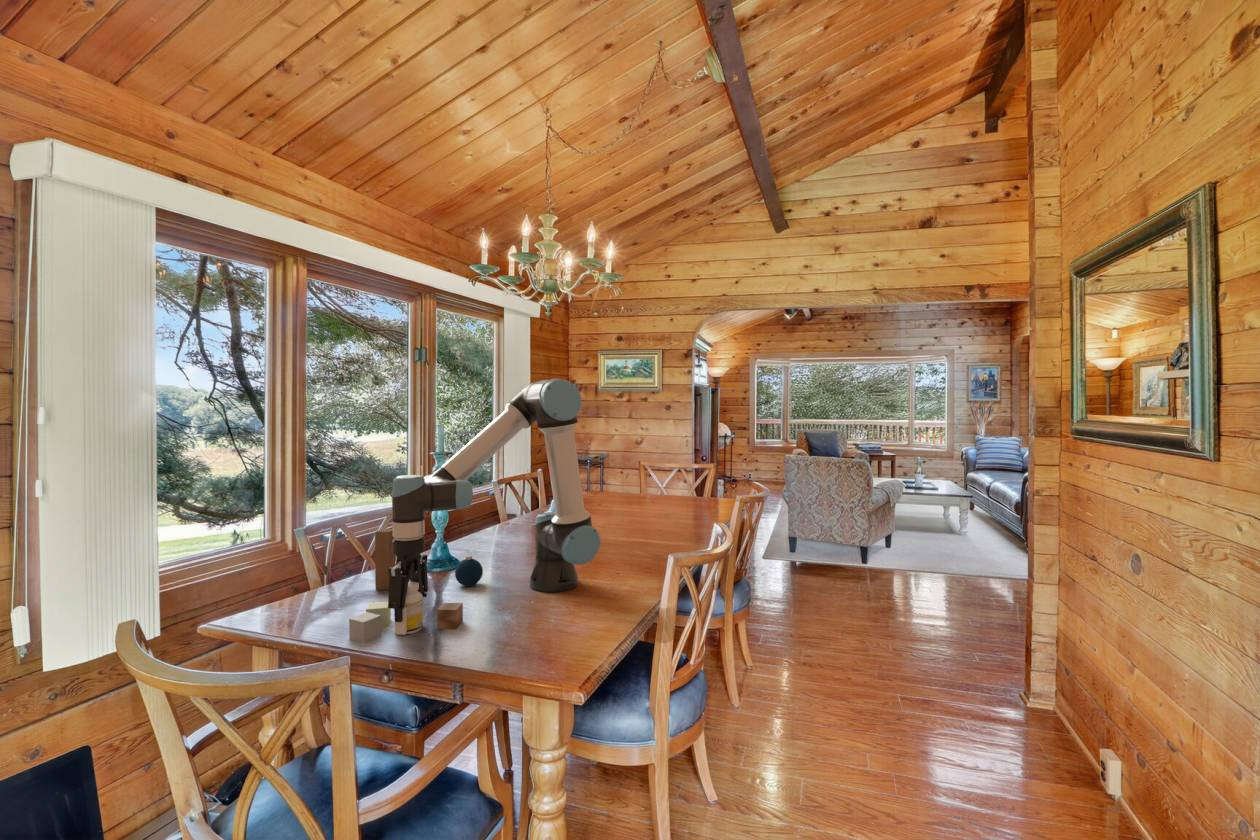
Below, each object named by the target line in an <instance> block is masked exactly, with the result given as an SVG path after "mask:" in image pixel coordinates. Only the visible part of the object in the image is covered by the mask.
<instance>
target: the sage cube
mask: <svg viewBox="0 0 1260 840" xmlns="http://www.w3.org/2000/svg"><path fill="white" fill-rule="evenodd" d="M391 609H392V608H388V601H377V602H376V601H374V602H369V604H368V606H367V607H366V608H365V613H366V612H369V613H373V614H377V615H381V628H388V626H389V624H390V621H391V620H392V618H391V617H392V615H391Z"/></svg>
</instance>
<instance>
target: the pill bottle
mask: <svg viewBox="0 0 1260 840" xmlns="http://www.w3.org/2000/svg"><path fill="white" fill-rule="evenodd" d="M418 589H419V583H418V582H410V581H409V582H408V588H407V594H406V599H405V605H404V607H407V634H406V635H410V634H411V635H412V634H414V633H417V632H420V630H422V629H423V626H424V625H423V622H424V618H423V617H424V615H423V614H424V613H423V612H424V609H423V607H424V603H423V601H424V600H423V598H424V597H423V596H422V594H421V593H420V592H418Z"/></svg>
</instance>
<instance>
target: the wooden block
mask: <svg viewBox="0 0 1260 840" xmlns="http://www.w3.org/2000/svg"><path fill="white" fill-rule="evenodd" d="M393 539H394V537H393V528H380V529H378V530H376V531H375V532H374V546H375V547H374V555H375V556H374V557H375V559H374V561H375V562H374V564H375V565H374V569H375V572H374V573H375V574H374V575H375V576H374V577H375V587H374V588H375V590H376V591H387V590H388V591H389V572H388V569H389V568H390V567H394V566H395V565H396V560H395V559H396V558H395V557H396V555H394V554H393V546H392V541H393ZM401 576H402V575H401ZM405 577H406V576H405Z"/></svg>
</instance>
